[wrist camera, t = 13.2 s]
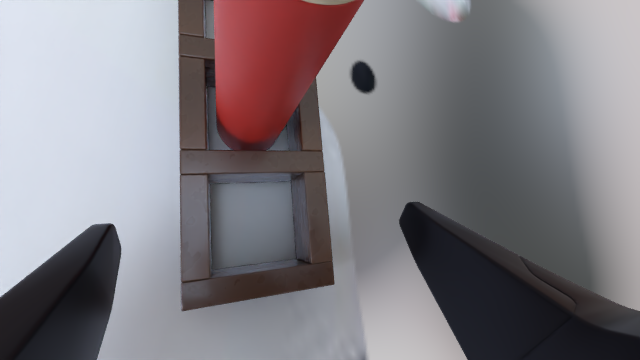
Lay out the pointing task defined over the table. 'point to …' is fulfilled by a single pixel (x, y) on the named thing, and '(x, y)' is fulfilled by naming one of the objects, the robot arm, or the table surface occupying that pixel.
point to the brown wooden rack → (244, 167)
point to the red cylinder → (270, 62)
